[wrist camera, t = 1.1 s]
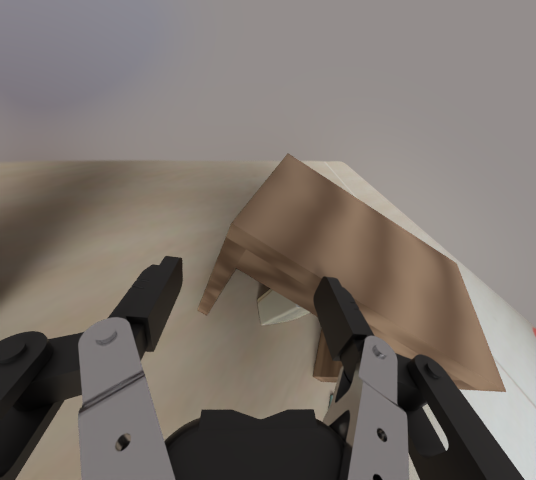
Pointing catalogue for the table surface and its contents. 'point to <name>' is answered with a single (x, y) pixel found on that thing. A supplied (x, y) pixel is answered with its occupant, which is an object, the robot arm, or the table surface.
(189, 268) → the table surface
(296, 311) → the skincare box
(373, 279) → the wooden square frame
